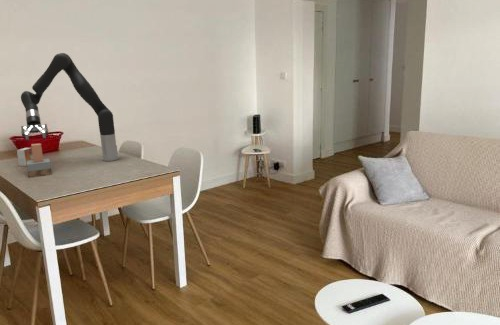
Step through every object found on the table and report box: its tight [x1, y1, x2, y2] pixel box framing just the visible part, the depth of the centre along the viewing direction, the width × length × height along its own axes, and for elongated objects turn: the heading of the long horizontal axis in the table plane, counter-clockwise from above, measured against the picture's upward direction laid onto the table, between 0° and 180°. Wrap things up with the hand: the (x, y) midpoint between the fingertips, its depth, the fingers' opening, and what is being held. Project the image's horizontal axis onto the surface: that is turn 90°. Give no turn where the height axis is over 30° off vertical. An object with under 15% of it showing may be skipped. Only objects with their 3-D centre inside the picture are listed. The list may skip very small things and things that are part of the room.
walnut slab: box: [27, 167, 53, 178], centre depth 250 cm, size 12×12×4 cm
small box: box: [16, 147, 33, 167], centre depth 274 cm, size 8×6×10 cm
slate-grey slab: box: [26, 157, 52, 172], centre depth 249 cm, size 12×12×4 cm
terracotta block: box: [30, 143, 44, 162], centre depth 247 cm, size 5×5×10 cm
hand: (36, 140), depth 249 cm, fingers open, 8 cm apart
